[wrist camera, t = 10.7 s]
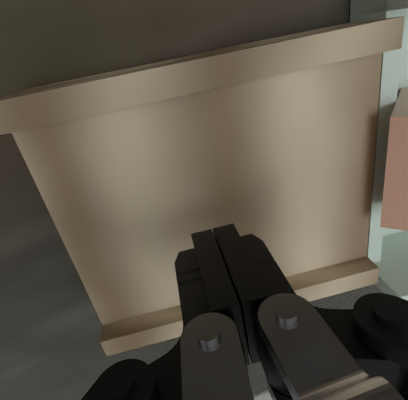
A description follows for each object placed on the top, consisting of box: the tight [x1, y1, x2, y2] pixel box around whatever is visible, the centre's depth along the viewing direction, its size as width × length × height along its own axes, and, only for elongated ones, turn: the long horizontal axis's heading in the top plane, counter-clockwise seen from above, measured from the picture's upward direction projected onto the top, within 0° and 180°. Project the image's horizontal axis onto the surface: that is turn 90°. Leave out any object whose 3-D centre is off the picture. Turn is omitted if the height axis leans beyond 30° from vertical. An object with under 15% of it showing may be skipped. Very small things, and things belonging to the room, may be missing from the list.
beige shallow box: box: [0, 16, 405, 356], centre depth 15 cm, size 14×12×4 cm
